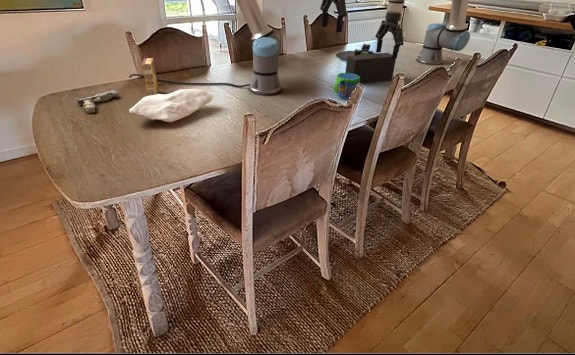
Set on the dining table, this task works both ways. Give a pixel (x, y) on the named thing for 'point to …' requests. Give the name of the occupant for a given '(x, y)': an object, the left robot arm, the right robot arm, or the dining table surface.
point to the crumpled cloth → (171, 104)
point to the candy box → (150, 76)
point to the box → (371, 67)
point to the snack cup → (346, 84)
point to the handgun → (95, 100)
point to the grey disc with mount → (355, 52)
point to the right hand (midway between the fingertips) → (385, 55)
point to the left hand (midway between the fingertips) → (331, 29)
